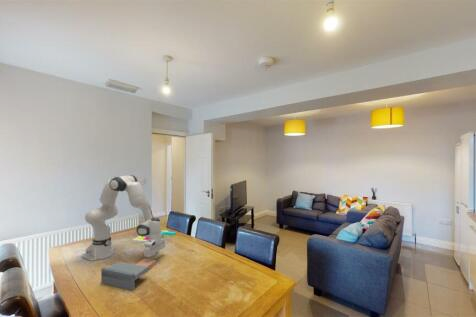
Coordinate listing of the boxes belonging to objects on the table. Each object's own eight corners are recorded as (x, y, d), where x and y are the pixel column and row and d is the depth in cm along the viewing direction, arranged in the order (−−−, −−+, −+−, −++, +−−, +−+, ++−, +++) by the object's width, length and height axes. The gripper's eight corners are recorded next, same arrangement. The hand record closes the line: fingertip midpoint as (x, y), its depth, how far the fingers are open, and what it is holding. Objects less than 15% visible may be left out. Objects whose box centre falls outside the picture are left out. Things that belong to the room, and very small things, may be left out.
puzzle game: (131, 243, 197) (161, 245, 191) (131, 240, 197) (161, 242, 191) (151, 232, 227) (177, 234, 221) (151, 229, 227) (177, 231, 221)
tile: (130, 273, 145) (130, 268, 145) (144, 263, 159) (144, 258, 159) (143, 275, 143) (143, 269, 143) (155, 264, 157) (155, 260, 157)
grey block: (101, 283, 133) (101, 268, 133) (118, 272, 145) (118, 259, 145) (132, 290, 125) (132, 275, 125) (147, 278, 138) (147, 264, 138)
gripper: (160, 234, 173) (160, 251, 173) (142, 244, 154) (142, 263, 154) (167, 235, 171) (167, 252, 171) (149, 245, 152) (149, 264, 152)
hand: (155, 257), depth 162 cm, fingers closed
